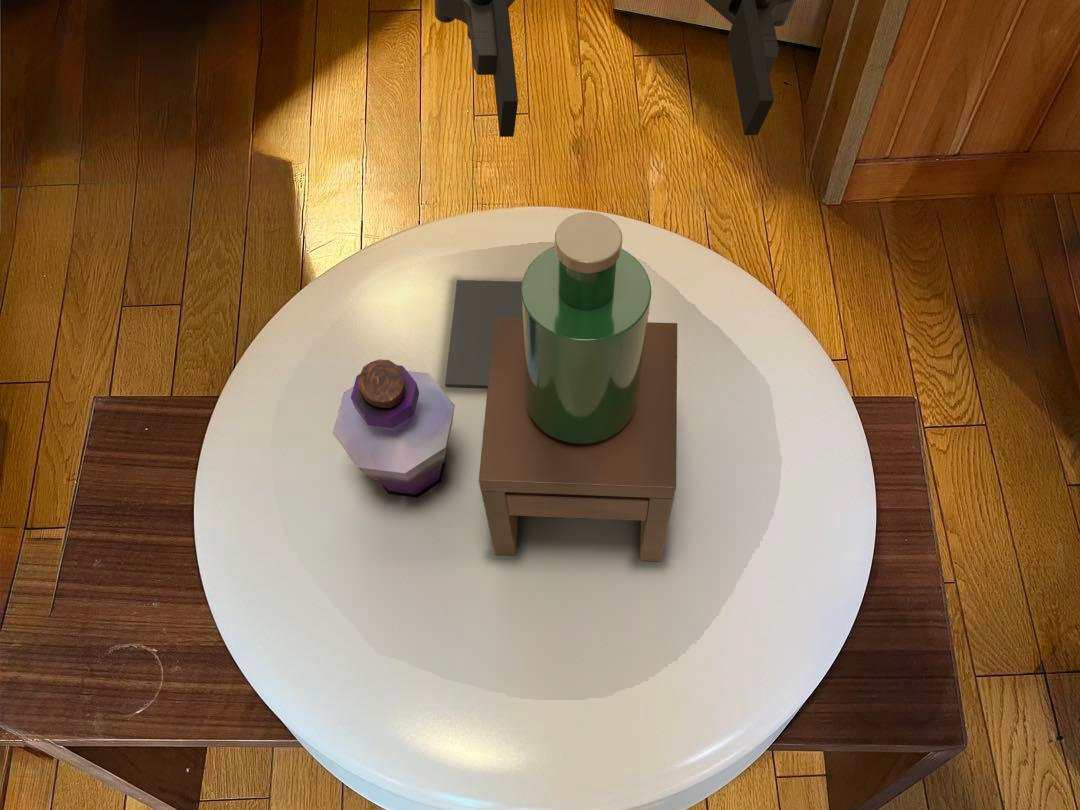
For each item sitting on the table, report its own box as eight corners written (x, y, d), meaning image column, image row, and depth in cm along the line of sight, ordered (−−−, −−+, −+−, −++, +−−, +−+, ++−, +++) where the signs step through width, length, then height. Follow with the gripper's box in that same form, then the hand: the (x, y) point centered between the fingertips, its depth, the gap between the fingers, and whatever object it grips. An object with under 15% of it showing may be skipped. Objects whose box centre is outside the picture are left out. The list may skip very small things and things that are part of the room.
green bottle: (639, 356, 62) (661, 190, 50) (633, 448, 59) (655, 296, 47) (531, 348, 63) (526, 181, 50) (519, 439, 59) (511, 285, 47)
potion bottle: (345, 429, 75) (304, 339, 64) (454, 405, 75) (432, 310, 64) (363, 528, 71) (323, 451, 60) (477, 502, 72) (458, 420, 61)
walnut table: (663, 416, 74) (677, 322, 63) (661, 561, 69) (676, 488, 58) (507, 411, 75) (494, 317, 64) (494, 554, 70) (478, 480, 59)
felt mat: (578, 286, 79) (578, 282, 79) (573, 391, 75) (572, 388, 75) (457, 282, 80) (457, 279, 79) (445, 386, 76) (444, 384, 75)
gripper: (773, -122, 62) (830, 162, 57) (380, -134, 59) (400, 166, 53) (818, -244, 55) (889, 67, 49) (374, -266, 52) (396, 66, 46)
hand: (636, 119), depth 51 cm, fingers open, 13 cm apart
